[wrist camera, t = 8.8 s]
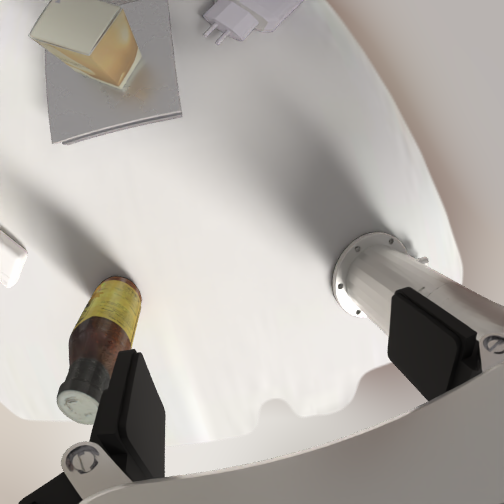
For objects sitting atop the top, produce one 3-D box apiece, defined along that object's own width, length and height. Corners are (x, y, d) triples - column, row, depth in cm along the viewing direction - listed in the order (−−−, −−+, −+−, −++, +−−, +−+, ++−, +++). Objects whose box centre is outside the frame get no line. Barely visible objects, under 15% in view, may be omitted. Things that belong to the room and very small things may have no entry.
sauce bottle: (95, 272, 37) (32, 364, 18) (143, 276, 38) (110, 377, 19) (98, 318, 38) (51, 425, 20) (143, 322, 40) (120, 437, 21)
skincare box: (74, 72, 25) (22, 36, 14) (95, 37, 24) (55, -13, 13) (124, 92, 27) (88, 57, 16) (146, 55, 26) (124, 4, 15)
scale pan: (167, -2, 27) (166, -16, 24) (181, 115, 32) (180, 110, 29) (57, 28, 26) (46, 18, 22) (64, 144, 30) (52, 143, 27)
